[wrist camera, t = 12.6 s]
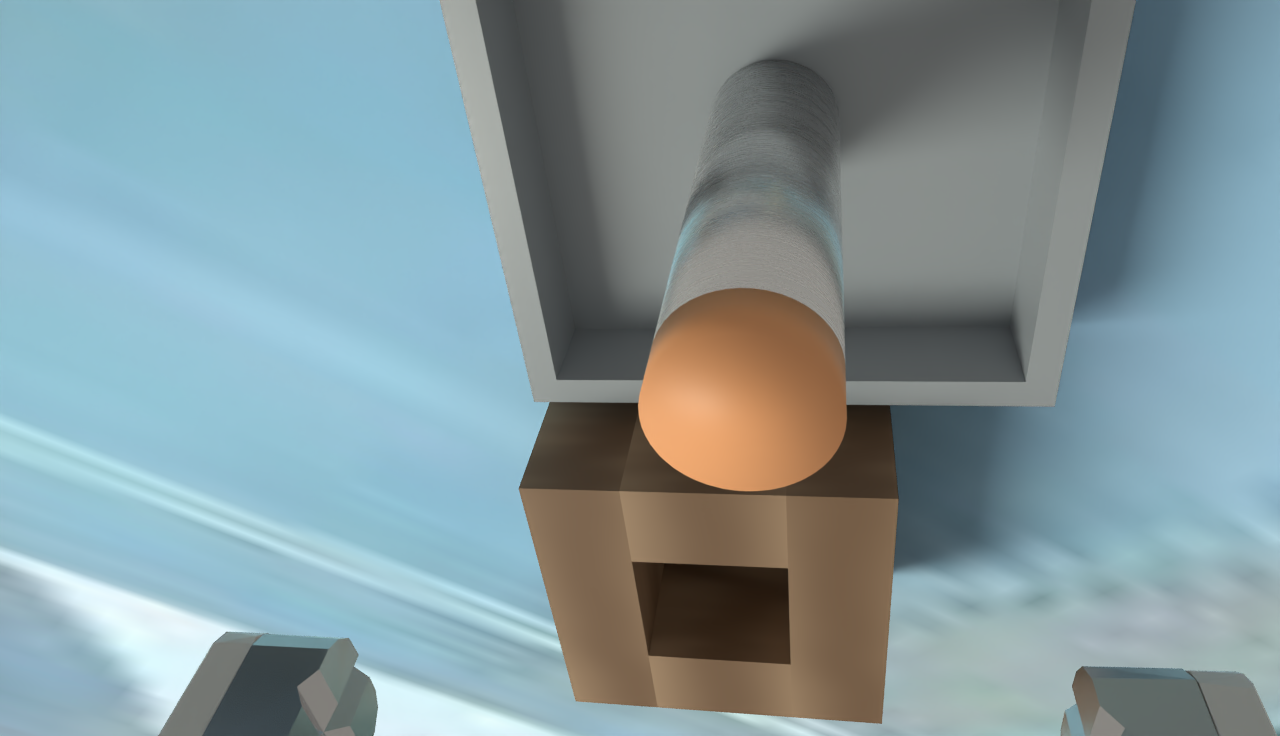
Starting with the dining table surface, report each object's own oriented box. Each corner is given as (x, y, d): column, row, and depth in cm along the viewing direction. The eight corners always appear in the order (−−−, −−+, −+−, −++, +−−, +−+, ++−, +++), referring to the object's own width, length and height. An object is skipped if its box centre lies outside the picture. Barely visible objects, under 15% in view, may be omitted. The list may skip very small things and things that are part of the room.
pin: (713, 184, 24) (650, 488, 15) (704, 63, 22) (625, 334, 14) (838, 179, 23) (845, 494, 15) (840, 55, 22) (849, 333, 13)
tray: (560, 331, 29) (534, 401, 26) (458, -175, 21) (404, -150, 18) (1030, 329, 26) (1054, 406, 24) (1128, -254, 18) (1183, -238, 15)
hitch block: (607, 563, 36) (575, 701, 31) (566, 357, 30) (518, 488, 25) (873, 575, 34) (881, 723, 29) (885, 357, 28) (898, 499, 23)
